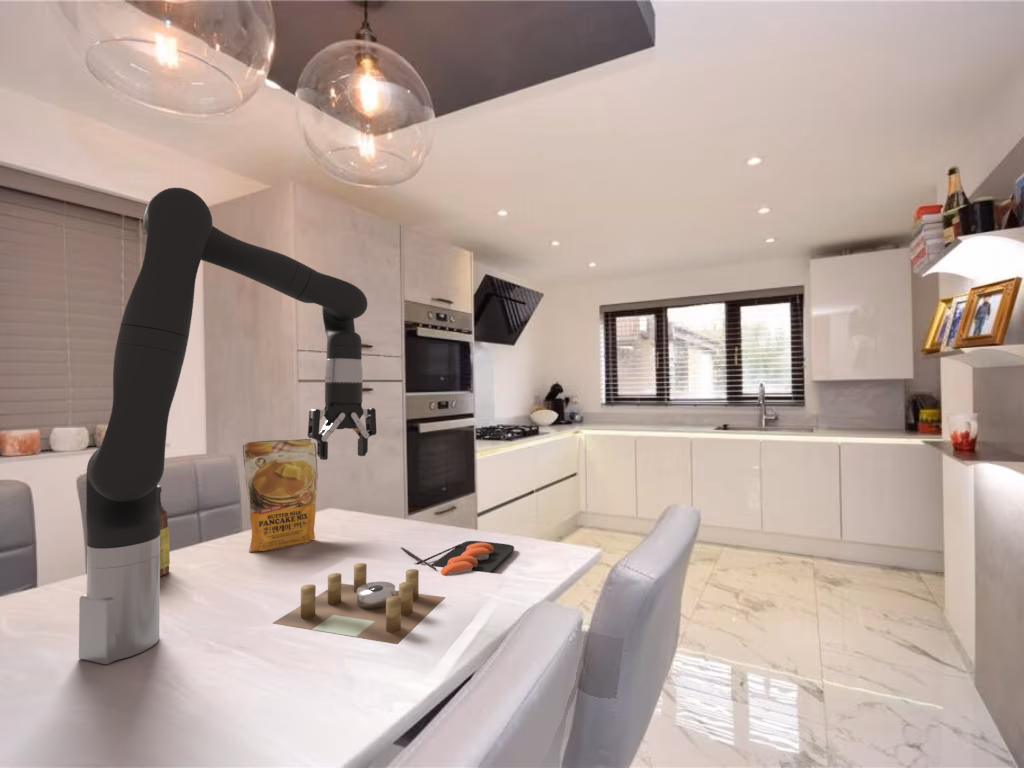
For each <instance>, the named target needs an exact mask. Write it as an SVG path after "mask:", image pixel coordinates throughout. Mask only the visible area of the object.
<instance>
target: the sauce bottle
mask: <svg viewBox="0 0 1024 768" xmlns="http://www.w3.org/2000/svg"><path fill="white" fill-rule="evenodd" d="M161 493H162V486H161V484H160V485H159V484H157V502H158V511H159V516H160V577H162V576H165V575H167V574H168V573H169V572H170V564H171V558H170V533H169V528H170V527H169V525H168V524H169V522H168V520H169V519H168V518H169V517H168V511H166V510H165V508H164V507H163V506H162V501H161V499H162V498H161Z"/></svg>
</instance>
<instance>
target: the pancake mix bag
mask: <svg viewBox="0 0 1024 768" xmlns="http://www.w3.org/2000/svg"><path fill="white" fill-rule="evenodd" d="M242 456H243V466H244V471H245V484H246V492H247V496H248V503H249V520H250V525H251V539H250V545H249V550H248V552H258V551H263V552H268V550H270V551H274V549H275V550H280V549H279V548H281V549H285V548H284V547H286V548H290V547H289V546H291V547H295V546H294V545H297V546H301V544H302V545H306V544H309V543H310V542H312V541H315V540H316V534H315V524H316V523H315V522H316V514H317V512H316V511H317V510H316V508H317V507H316V506H317V505H316V504H317V496H318V495H317V493H318V492H317V491H318V458H317V456H318V455H317V445H316V442H315V441H312V438H304V439H303V438H300V439H290V440H289V439H274V440H260V441H250V442H247V443H245V444H243V445H242ZM305 543H306V544H305Z"/></svg>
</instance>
